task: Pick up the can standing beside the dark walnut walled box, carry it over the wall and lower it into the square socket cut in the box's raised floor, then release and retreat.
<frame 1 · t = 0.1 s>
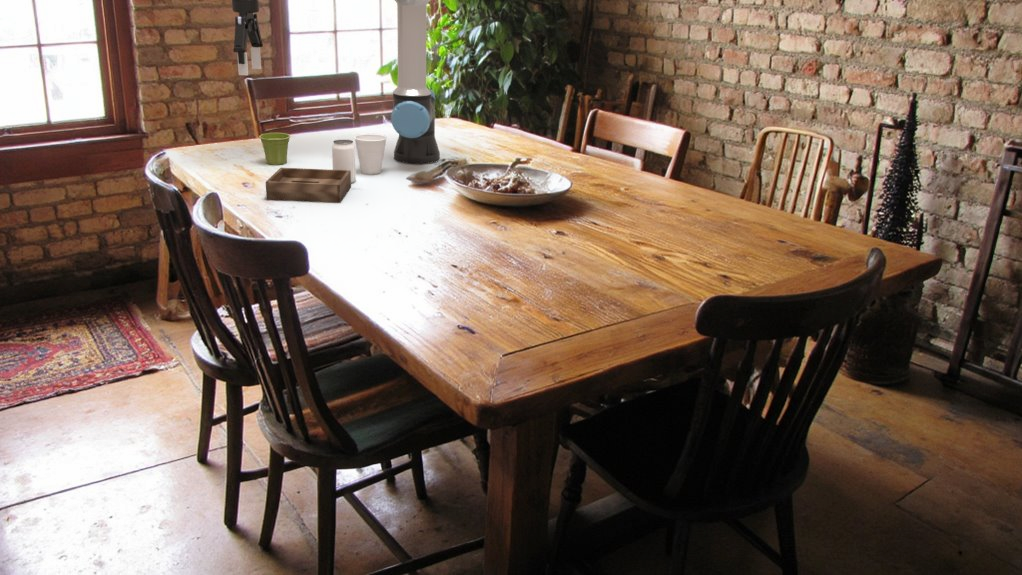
hand: (250, 72, 256), 28 cm above the table, fingers open, 13 cm apart
walled box: (310, 193, 237), on the table
plant pot: (276, 163, 267), on the table
can: (344, 182, 250), on the table
cup: (371, 173, 261), on the table
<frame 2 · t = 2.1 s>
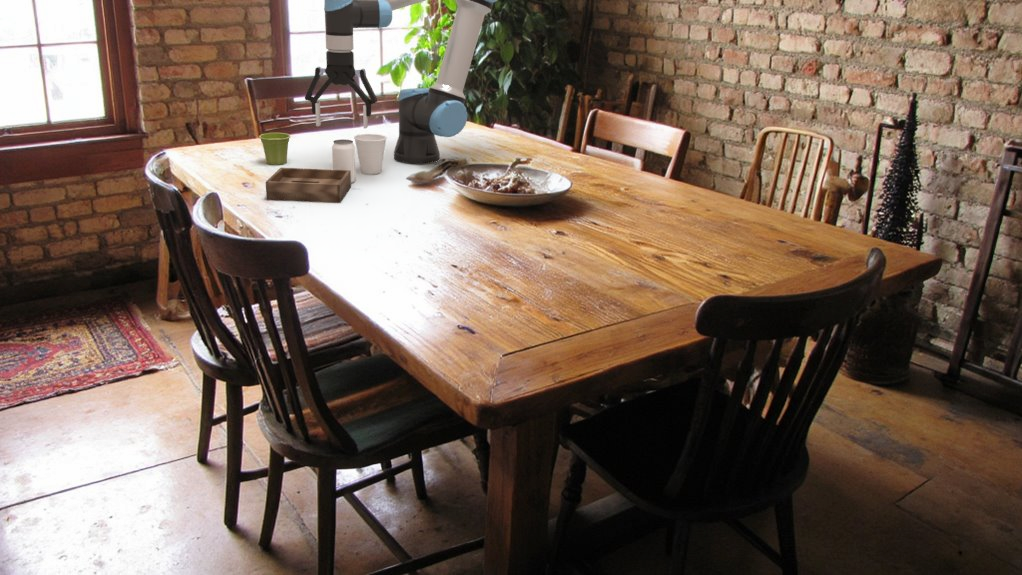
hand: (342, 126, 243), 16 cm above the table, fingers open, 13 cm apart
nothing on the table moved.
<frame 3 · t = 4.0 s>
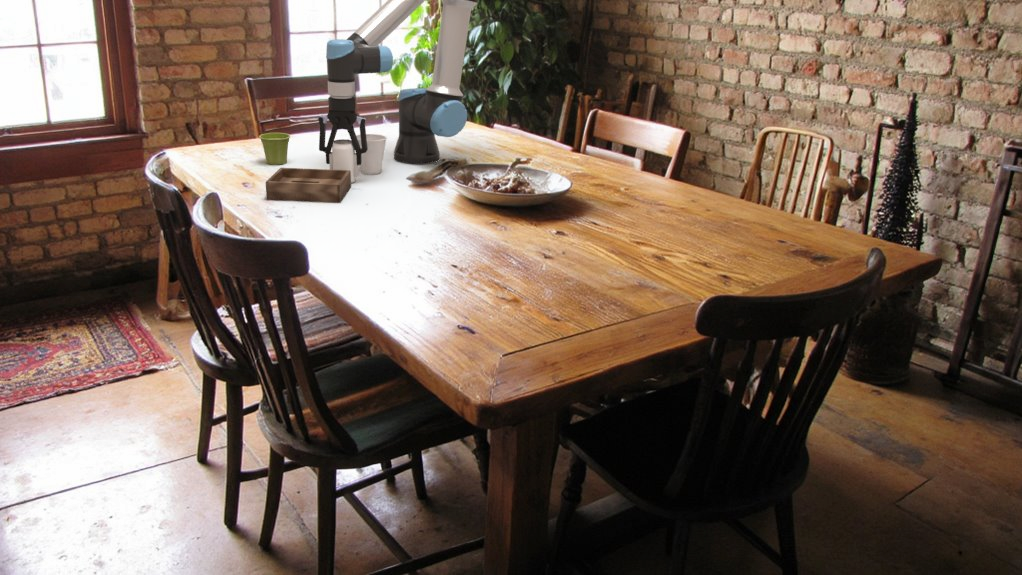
hand: (344, 175, 249), 2 cm above the table, fingers closed on can, 6 cm apart
can: (344, 182, 250), on the table, touching gripper
everything else where it was.
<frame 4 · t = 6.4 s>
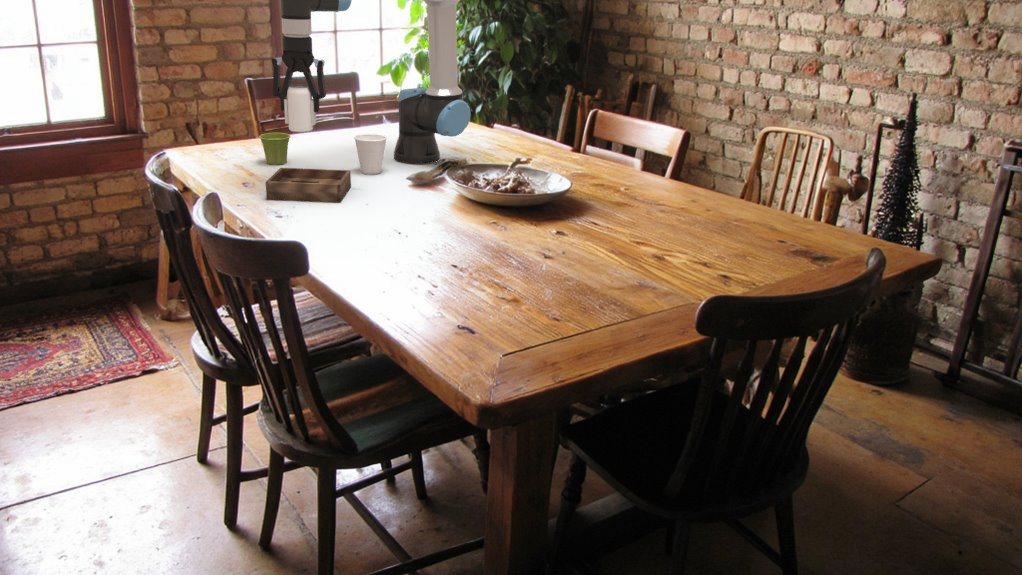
hand: (300, 123, 230), 19 cm above the table, fingers closed on can, 6 cm apart
can: (301, 131, 231), point 17 cm above the table, touching gripper
everything else where it was.
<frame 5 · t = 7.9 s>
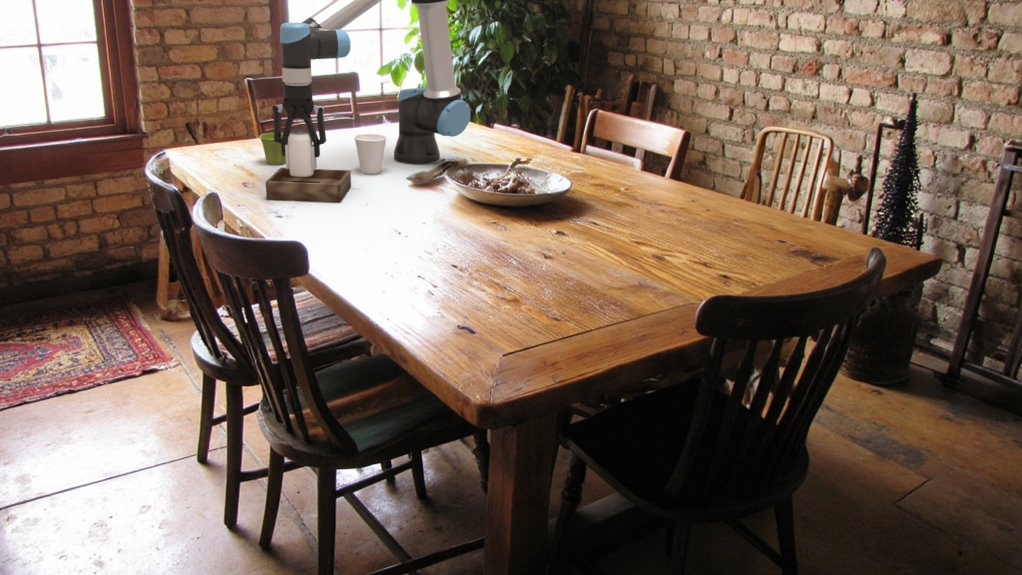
hand: (301, 167, 234), 7 cm above the table, fingers closed on can, 6 cm apart
can: (302, 175, 235), point 5 cm above the table, touching gripper
everything else where it was.
when the fingers open (4 cm above the table, at t = 9.0 s): can drops 1 cm, resting on walled box.
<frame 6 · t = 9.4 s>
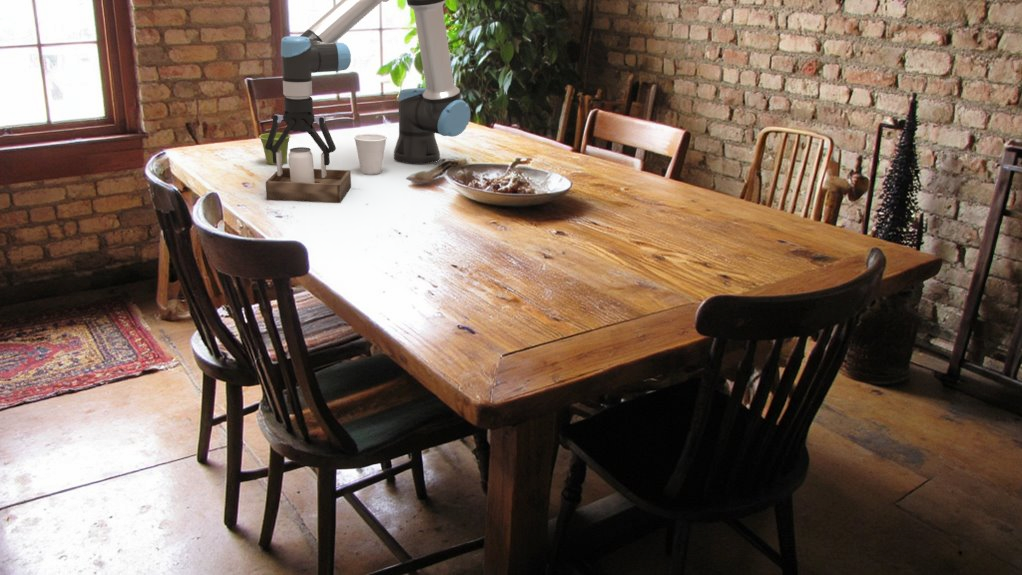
hand: (302, 175, 235), 5 cm above the table, fingers open, 11 cm apart
can: (303, 192, 236), resting on walled box
everything else where it was.
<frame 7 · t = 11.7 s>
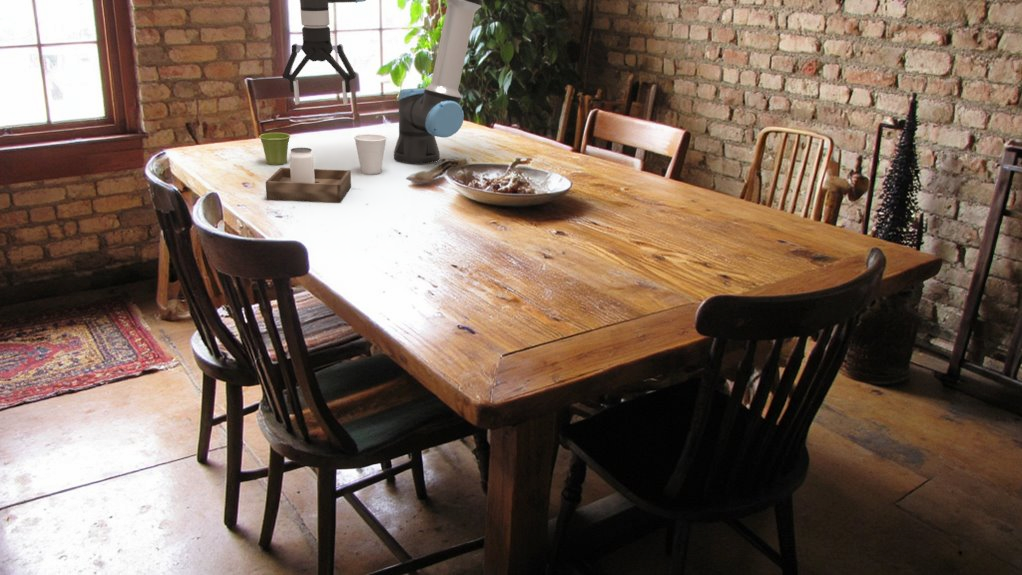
hand: (321, 103, 241), 23 cm above the table, fingers open, 13 cm apart
nothing on the table moved.
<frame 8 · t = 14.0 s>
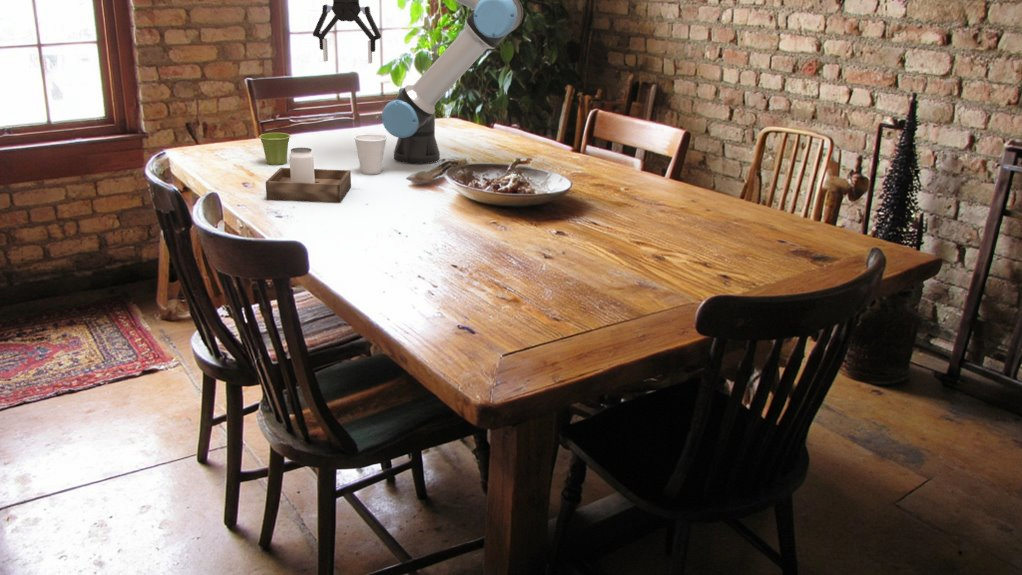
hand: (348, 62, 258), 32 cm above the table, fingers open, 13 cm apart
nothing on the table moved.
at the end: can 0.1 cm from the target spot on the walled box, point 0.1 cm above the walled box's base; can tilted 0°; the gripper is holding nothing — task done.
